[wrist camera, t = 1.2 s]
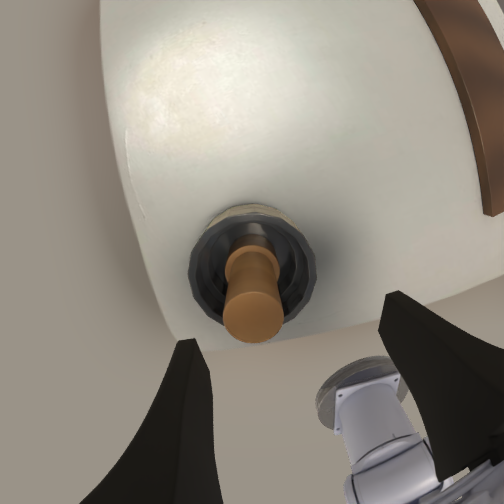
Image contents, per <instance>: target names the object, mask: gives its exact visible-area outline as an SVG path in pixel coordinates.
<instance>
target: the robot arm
mask: <svg viewBox="0 0 504 504" xmlns="http://www.w3.org/2000/svg"><path fill="white" fill-rule="evenodd" d="M378 332H379V334H380V336H381V338H382V341H383V344H384V346H385V348H386V350H387V352H388V354H389V356H390V357H391V359H392V361H393V362H394V364H395V366H396V368H397V369H398V371H399V372H396V373H393V374H390V375H386V376H383V377H380V378H376V379H373V380H369V381H366V382H362V383H358V384H354V385H350V386H346V387H342V388H338V389H337V390H336V396H335V418H334V434H335V435H339V434H342V436H343V440H344V443H345V446H346V450H347V453H348V457H349V460H350V464H351V469H352V473H353V474H350V475H348V476H347V478H346V480H345V482H344V495H345V499H346V502H347V504H504V349H502V348H499V347H496V346H494V345H491V344H489V343H487V342H485V341H483V340H481V339H478V338H476V337H474V336H472V335H470V334H468V333H467V332H465V331H463V330H461V329H460V328H458V327H456V326H454V325H453V324H451V323H449V322H448V321H446V320H445V319H443V318H441V317H440V316H438V315H436V314H435V313H434V312H432V311H430V310H429V309H427V308H426V307H424V306H423V305H421V304H420V303H418V302H417V301H415V300H414V299H412V298H410V297H409V296H407V295H406V294H404V293H402V292H401V291H399V290H398V291H395V292H392V293H388V294H386V296H385V301H384V306H383V311H382V315H381V320H380V324H379V329H378ZM400 374H401V376H402V378H403V379H404V381H405V383H406V385H407V386H408V388H409V390H410V392H411V393H412V396H413V398H414V400H415V402H416V404H417V407H418V409H419V412H420V414H421V417H422V420H423V423H424V426H425V429H426V432H427V435H428V436H426V437H424V438H423V440H422V439H421V436H420V434H419V433H418V432H417V433H416V431H415V430H414V428H413V426H412V424H411V422H410V420H409V418H408V416H407V414H406V412H405V411H404V409H403V407H402V405H401V403H400V401H399V399H398V398H397V396H396V393H397V389H398V385H399V380H400ZM340 394H341V395H340ZM466 467H468V468H469V470H470V472H469V473H468V474H467V475H465V476H464V477H462V478H461V479H460V480H458V481H457V482H455V483H454V481H453V478H452V476H453V475H455V474H457V473H459V472H460V471H462V470H464V469H465V468H466ZM461 496H462V498H461V499H459V500H457V501H455V500H456V499H458V498H459V497H461ZM453 501H454V502H453ZM79 504H223V500H222V495H221V490H220V485H219V480H218V474H217V468H216V462H215V454H214V435H213V394H212V386H211V379H210V371H209V369H208V367H207V364H206V362H205V360H204V358H203V355H202V353H201V351H200V349H199V346H198V344H197V342H196V339H195V338H193V339H187V340H180V341H178V342H177V344H176V347H175V350H174V353H173V355H172V358H171V361H170V363H169V366H168V368H167V371H166V373H165V376H164V378H163V381H162V383H161V385H160V388H159V390H158V392H157V395H156V397H155V399H154V401H153V403H152V405H151V407H150V409H149V411H148V413H147V415H146V417H145V419H144V421H143V423H142V424H141V426H140V428H139V430H138V431H137V433H136V435H135V436H134V438H133V440H132V441H131V443H130V444H129V446H128V447H127V449H126V450H125V452H124V453H123V455H122V456H121V457H120V459H119V460H118V461H117V463H116V464H115V465H114V467H113V468H112V469H111V470H110V471H109V473H108V474H107V475H106V476H105V478H104V479H103V480H102V481H101V482H100V483H99V484H98V486H97V487H96V488H94V489H93V491H92V492H91V493H89V494H88V496H86V497H85V498H84V499H83V500H82V501H81V502H80V503H79Z"/></svg>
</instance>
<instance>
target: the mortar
mask: <svg viewBox="0 0 504 504" xmlns="http://www.w3.org/2000/svg"><path fill="white" fill-rule="evenodd" d="M249 234H255V235H260V236H262V237H264V238H266V239H267V240H269V241H270V242H271V244H272V245H273V247H274V249H275V252H276V255H277V259H278V262H279V266H280V275H279V278H278V281H277V285H278V290H279V294H280V299H281V303H282V308H283V313H284V321H283V324H284V323H286V322H288V321H290V320H292V319H294V318H295V317H296V316H297V314H298V313H299V312H300V311H301V310H302V309H303V308H304V306H305V305H306V304H307V303H308V302H309V300H310V298H311V295H312V292H313V289H314V286H315V283H316V280H317V274H316V263H315V255H314V253H313V251H312V249H311V247H310V246H309V244H308V242H307V240H306V239H305V237H304V235H303V234H302V232H301V231H300V230H299V228H298V227H297V226H296V225H295V223H294V222H293V221H292V220H291V219H289V218H288V217H287V216H285V215H284V214H283V213H281V212H280V211H278V210H277V209H275V208H272V207H268V206H263V205H259V204H247V205H241V206H235V207H232V208H230V209H228V210H226V211H225V212H223V213H222V214H220V215H219V216H217V217H215V218H214V219H213V220H212V222H211V223H210V225H209V226H208V227H207V229H206V230H205V232H204V233H203V235H202V236H201V238H200V239H199V241H198V242H197V244H196V245H195V247H194V248H193V250H192V252H191V257H190V263H189V269H188V279H189V283H190V287H191V290H192V294H193V297H194V299H195V300H196V302H197V303H198V304H199V306H200V307H201V308H202V309H203V311H204V312H205V313H206V315H207V316H208V317H210V318H212V319H213V320H215V321H217V322H218V323H220V324H222V325H223V326H224V323H223V311H224V306H225V300H226V294H227V288H228V282H227V279H226V276H225V265H226V261H227V257H228V253H229V249H230V247H231V245H232V244H233V243H234V242H235V241H236V240H237V239H238V238H240V237H242V236H244V235H249Z"/></svg>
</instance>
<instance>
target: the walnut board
mask: <svg viewBox="0 0 504 504" xmlns="http://www.w3.org/2000/svg"><path fill="white" fill-rule="evenodd" d="M414 2H415V3H416V5H417V7H418V8H419V10H420V12H421V13H422V15H423V17H424V19H425V20H426V22H427V24H428V26H429V28H430V30H431V31H432V33H433V35H434V37H435V39H436V41H437V43H438V45H439V48H440V50H441V52H442V54H443V56H444V59H445V61H446V63H447V66H448V68H449V70H450V73H451V75H452V78H453V81H454V83H455V86H456V89H457V92H458V94H459V97H460V100H461V103H462V107H463V110H464V113H465V116H466V120H467V123H468V127H469V131H470V135H471V139H472V143H473V147H474V152H475V157H476V162H477V167H478V173H479V179H480V186H481V193H482V201H483V211H484V214H485V215H488V216H491V217H494V216H496V215H498V214H500V213H502V212H504V50H503V48H502V46H501V43H500V41H499V39H498V37H497V35H496V33H495V31H494V29H493V27H492V25H491V23H490V21H489V19H488V18H487V16H486V14H485V12H484V10H483V9H482V7H481V5H480V4H479V2H478V0H414Z"/></svg>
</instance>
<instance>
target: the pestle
mask: <svg viewBox="0 0 504 504" xmlns="http://www.w3.org/2000/svg"><path fill="white" fill-rule="evenodd" d="M279 275H280V266H279V262H278V259H277V255H276V252H275V249H274V247H273V245H272V244H271V242H270V241H269V240H267V239H266V238H264V237H262V236H260V235H255V234H249V235H244V236H242V237H240V238H238V239H237V240H236V241H235V242H234V243H233V244H232V245H231V247H230V249H229V253H228V257H227V261H226V265H225V276H226V279H227V282H228V288H227V294H226V300H225V306H224V311H223V323H224V326H225V328H226V329H227V331H228V332H229V333H230V334H231V335H232V336H233V337H234V338H236V339H238V340H240V341H242V342H246V343H260V342H264V341H267V340H269V339H271V338H272V337H273V336H275V335H276V334H277V333H278V332H279V330H280V329H281V327H282V325H283V321H284V313H283V308H282V303H281V299H280V294H279V290H278V285H277V281H278V278H279Z"/></svg>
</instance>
